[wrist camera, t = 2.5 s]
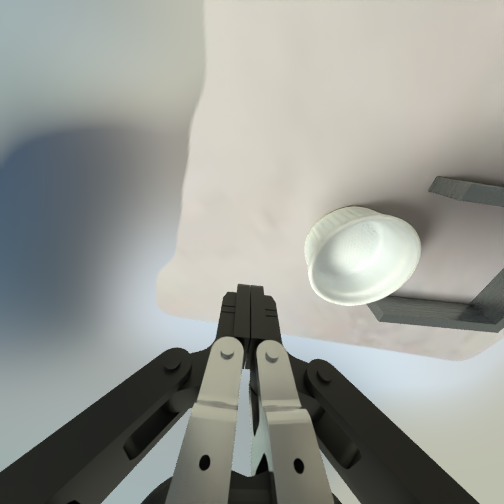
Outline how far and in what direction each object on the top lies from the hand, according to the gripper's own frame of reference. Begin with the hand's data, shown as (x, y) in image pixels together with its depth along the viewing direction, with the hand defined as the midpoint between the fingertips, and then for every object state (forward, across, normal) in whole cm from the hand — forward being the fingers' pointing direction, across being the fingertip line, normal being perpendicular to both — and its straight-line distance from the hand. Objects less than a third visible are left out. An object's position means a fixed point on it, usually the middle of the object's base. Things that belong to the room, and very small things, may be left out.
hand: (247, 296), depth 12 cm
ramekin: (+9, -10, 0) cm, 13 cm away
